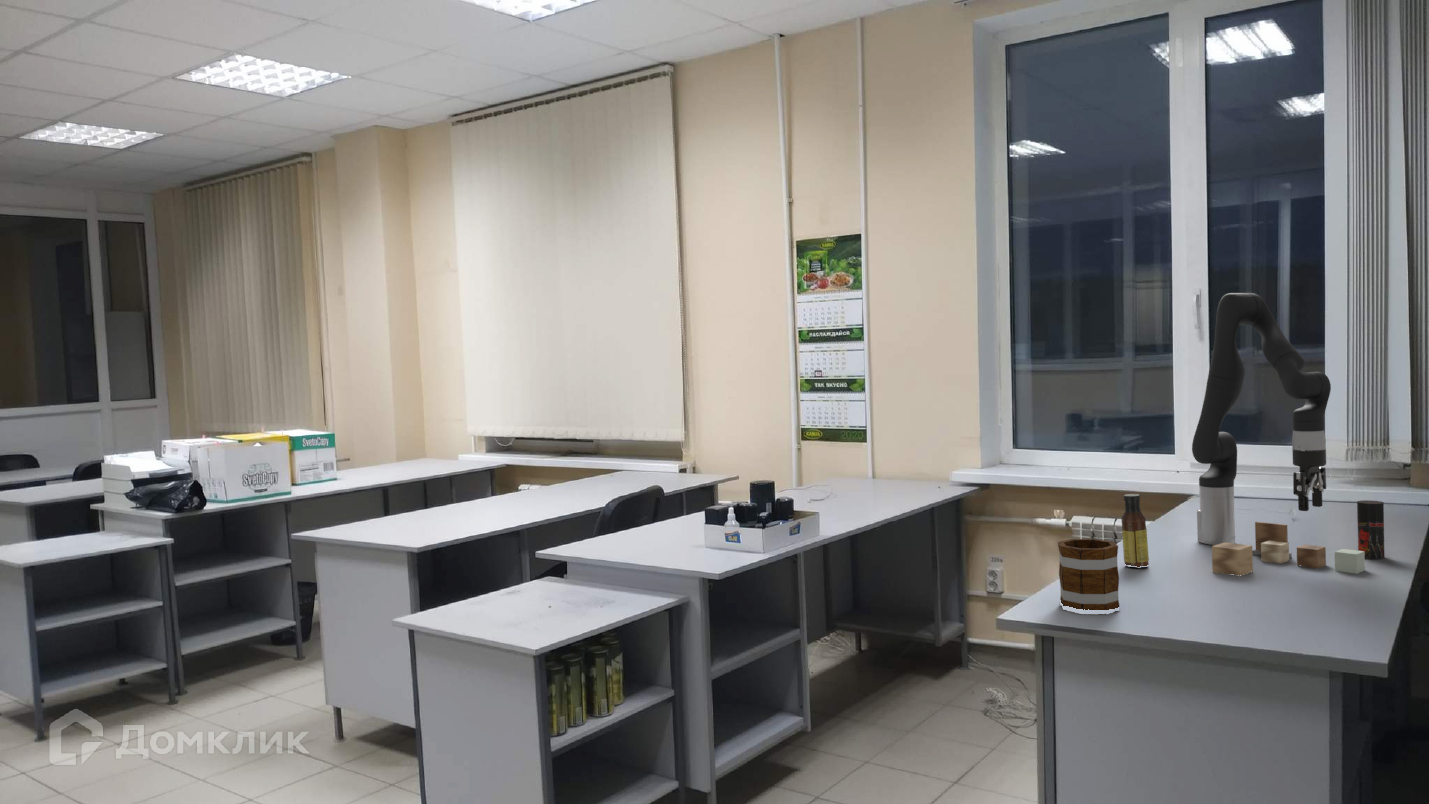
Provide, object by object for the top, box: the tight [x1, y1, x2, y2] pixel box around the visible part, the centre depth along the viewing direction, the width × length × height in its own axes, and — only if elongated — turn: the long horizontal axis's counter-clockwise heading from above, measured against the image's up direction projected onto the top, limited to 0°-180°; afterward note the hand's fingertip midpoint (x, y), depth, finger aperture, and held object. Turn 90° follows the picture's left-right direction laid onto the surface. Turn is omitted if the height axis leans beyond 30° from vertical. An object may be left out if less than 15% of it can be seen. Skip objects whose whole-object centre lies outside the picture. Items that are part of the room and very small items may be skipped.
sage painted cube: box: [1334, 548, 1366, 574], centre depth 245 cm, size 5×5×5 cm
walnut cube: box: [1296, 544, 1327, 569], centre depth 252 cm, size 5×5×5 cm
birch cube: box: [1260, 540, 1290, 564], centre depth 259 cm, size 5×5×5 cm
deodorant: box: [1356, 499, 1386, 560], centre depth 258 cm, size 6×6×15 cm
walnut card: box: [1252, 521, 1292, 559], centre depth 265 cm, size 9×3×9 cm, turn 37°
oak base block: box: [1211, 542, 1254, 577], centre depth 249 cm, size 7×7×7 cm
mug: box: [1057, 538, 1120, 610], centre depth 224 cm, size 20×14×15 cm
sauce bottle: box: [1121, 493, 1150, 567], centre depth 260 cm, size 6×6×20 cm
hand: (1310, 508), depth 252 cm, fingers open, 8 cm apart
